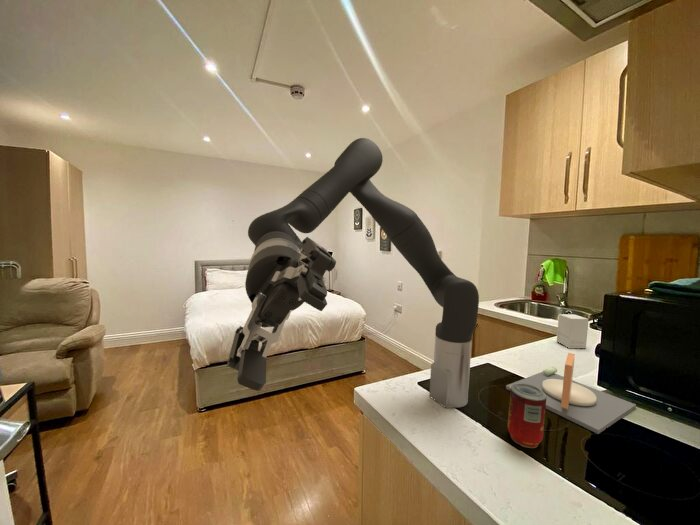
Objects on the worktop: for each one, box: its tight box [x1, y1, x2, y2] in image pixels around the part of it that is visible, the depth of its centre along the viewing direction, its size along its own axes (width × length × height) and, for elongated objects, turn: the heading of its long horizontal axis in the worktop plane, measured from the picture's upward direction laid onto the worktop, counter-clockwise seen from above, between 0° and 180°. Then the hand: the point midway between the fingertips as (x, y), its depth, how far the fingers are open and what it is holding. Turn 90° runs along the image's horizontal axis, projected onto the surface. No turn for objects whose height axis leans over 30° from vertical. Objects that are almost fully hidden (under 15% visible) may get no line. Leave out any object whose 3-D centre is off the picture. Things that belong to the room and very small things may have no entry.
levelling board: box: [505, 366, 637, 435], centre depth 81 cm, size 24×22×3 cm
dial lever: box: [542, 352, 596, 409], centre depth 78 cm, size 18×12×12 cm, turn 139°
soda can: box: [507, 383, 547, 449], centre depth 63 cm, size 7×7×12 cm
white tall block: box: [556, 313, 590, 349], centre depth 121 cm, size 7×7×13 cm
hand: (282, 344), depth 23 cm, fingers open, 8 cm apart
